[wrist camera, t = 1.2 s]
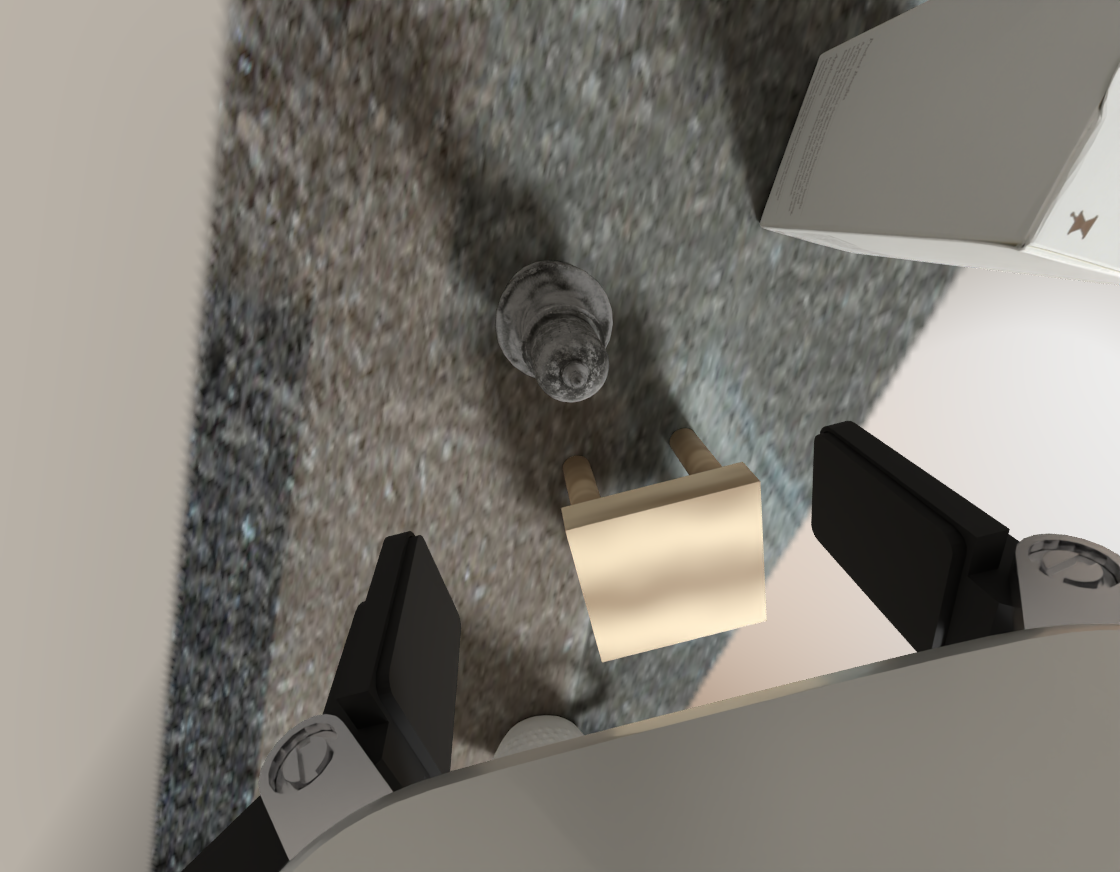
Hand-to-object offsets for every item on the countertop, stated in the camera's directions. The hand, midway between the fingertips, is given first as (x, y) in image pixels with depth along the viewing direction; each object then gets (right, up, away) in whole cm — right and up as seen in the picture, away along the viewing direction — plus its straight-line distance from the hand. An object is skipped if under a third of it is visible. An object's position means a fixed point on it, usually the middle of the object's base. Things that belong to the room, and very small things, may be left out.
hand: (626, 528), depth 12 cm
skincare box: (+13, +17, +14) cm, 26 cm away
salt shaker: (-2, +9, +16) cm, 19 cm away
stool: (+4, -2, +22) cm, 23 cm away
